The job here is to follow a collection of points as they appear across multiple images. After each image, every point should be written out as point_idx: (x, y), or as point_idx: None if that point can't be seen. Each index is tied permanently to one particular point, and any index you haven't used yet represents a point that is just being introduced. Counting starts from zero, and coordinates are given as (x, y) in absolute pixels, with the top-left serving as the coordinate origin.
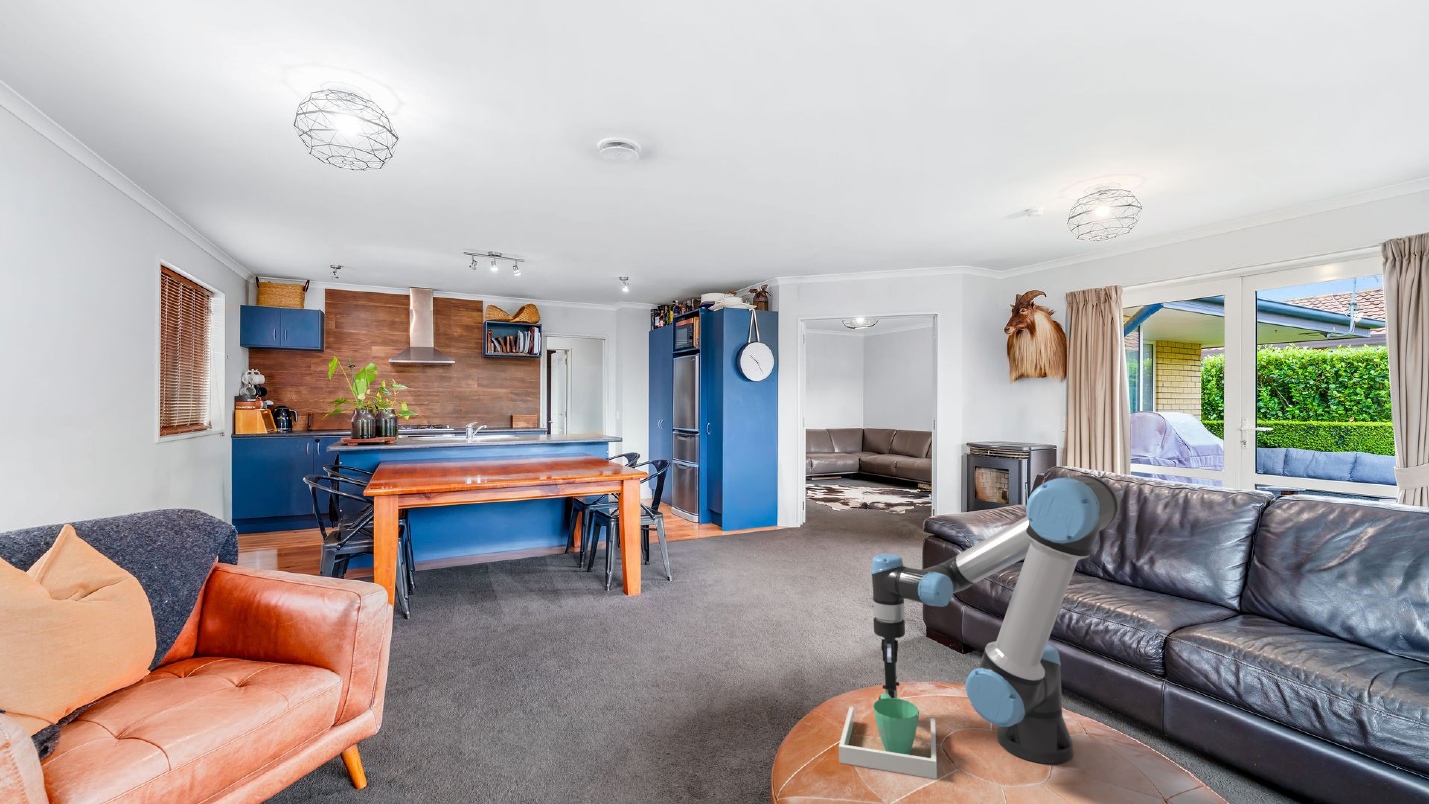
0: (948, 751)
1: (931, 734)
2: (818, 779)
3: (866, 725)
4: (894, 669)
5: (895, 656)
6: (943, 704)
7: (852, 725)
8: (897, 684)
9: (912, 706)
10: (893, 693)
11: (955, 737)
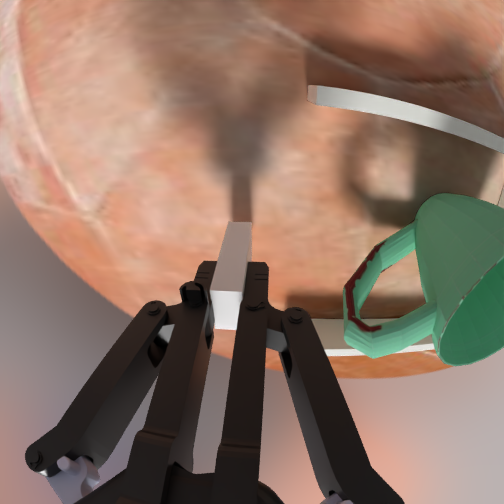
0: (418, 69)
1: (450, 131)
2: None
3: (297, 292)
4: (356, 432)
5: (258, 491)
6: (71, 77)
7: (318, 323)
8: (207, 297)
9: (496, 249)
10: (267, 296)
11: (316, 20)
